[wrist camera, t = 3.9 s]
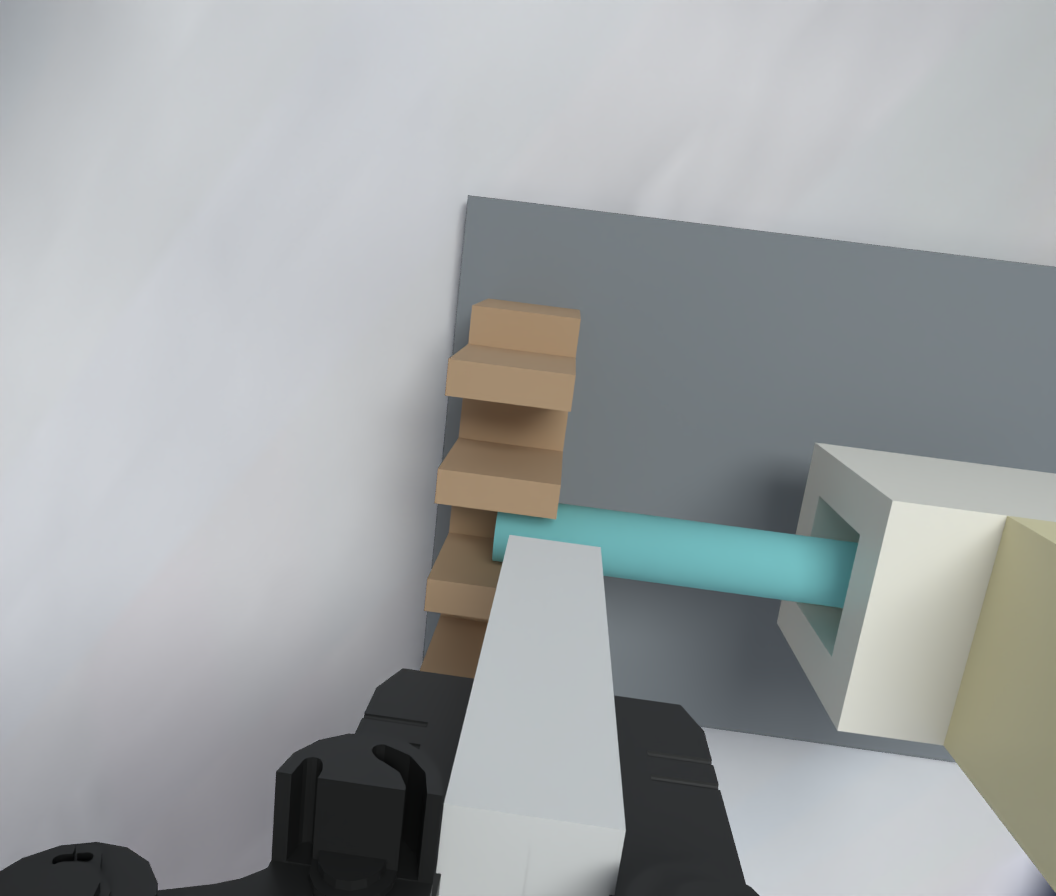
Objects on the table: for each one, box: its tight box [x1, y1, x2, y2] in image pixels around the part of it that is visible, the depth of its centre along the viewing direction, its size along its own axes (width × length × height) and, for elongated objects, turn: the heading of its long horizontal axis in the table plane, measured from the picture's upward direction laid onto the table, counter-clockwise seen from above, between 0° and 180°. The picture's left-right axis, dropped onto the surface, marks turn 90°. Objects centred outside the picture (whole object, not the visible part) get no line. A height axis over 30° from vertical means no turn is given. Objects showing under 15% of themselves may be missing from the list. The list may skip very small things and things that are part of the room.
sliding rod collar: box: [777, 443, 1056, 892], centre depth 14 cm, size 6×5×10 cm
